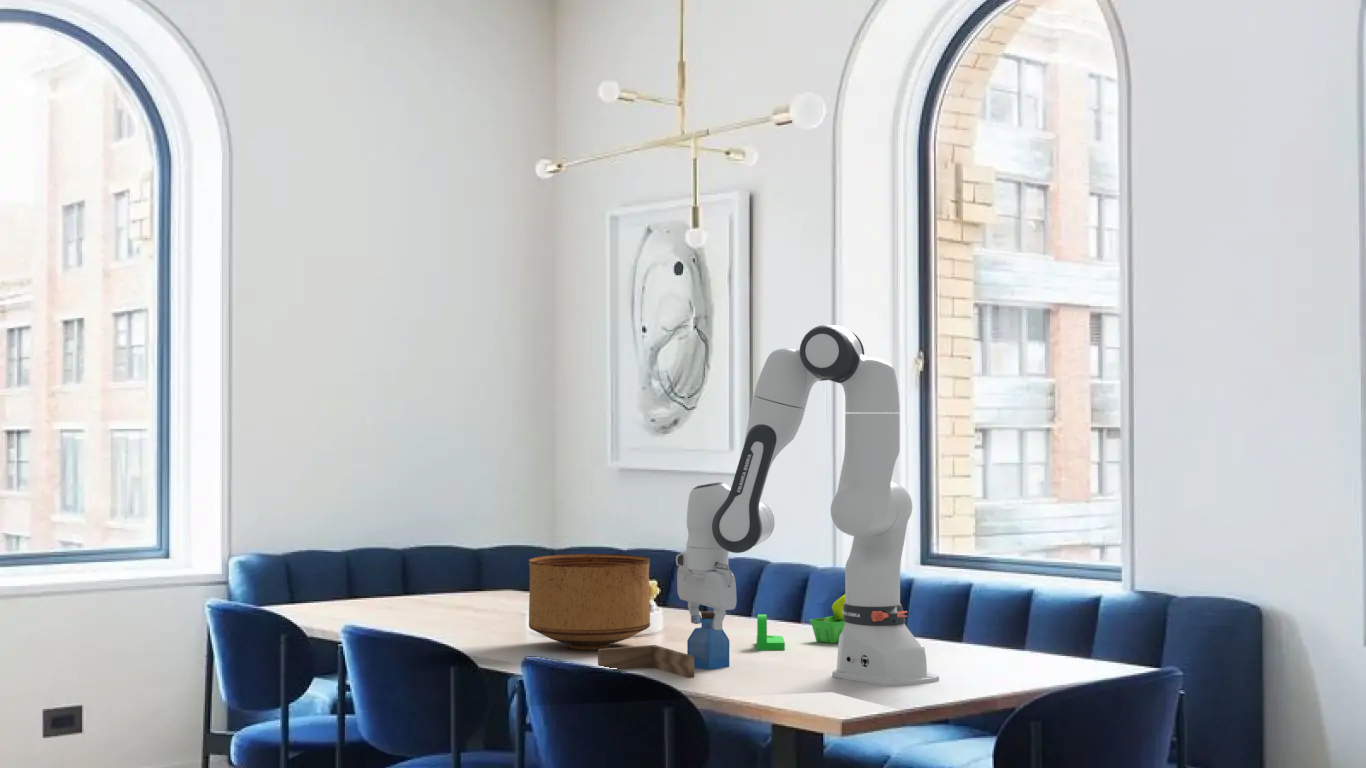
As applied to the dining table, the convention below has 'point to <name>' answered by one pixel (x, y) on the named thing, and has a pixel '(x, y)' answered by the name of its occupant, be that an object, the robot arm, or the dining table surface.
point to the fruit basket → (830, 624)
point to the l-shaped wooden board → (647, 659)
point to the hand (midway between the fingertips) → (706, 626)
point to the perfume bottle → (708, 645)
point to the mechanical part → (767, 636)
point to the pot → (589, 598)
